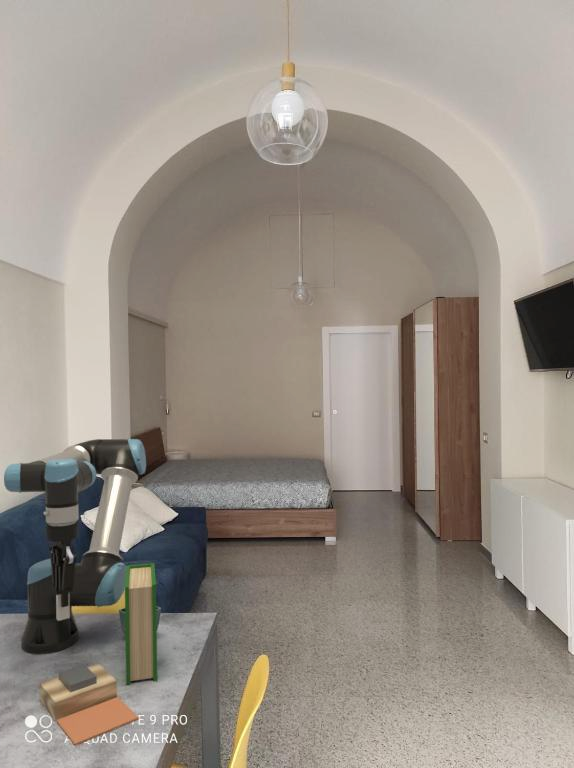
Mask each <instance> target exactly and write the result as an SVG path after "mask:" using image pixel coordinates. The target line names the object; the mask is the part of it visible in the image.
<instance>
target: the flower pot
mask: <svg viewBox="0 0 574 768" xmlns="http://www.w3.org/2000/svg"><path fill="white" fill-rule="evenodd" d="M161 610H162V607H160V606H157V605H156V625H157V630H158V629H159V625H160V621H161V620H160V619H161ZM118 616H119V623H120V628H121V631H122V633H123V635H124V636H125V637H126V632H125V607H122V608H120V609H119V610H118Z"/></svg>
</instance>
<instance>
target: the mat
mask: <svg viewBox="0 0 574 768" xmlns="http://www.w3.org/2000/svg"><path fill="white" fill-rule="evenodd" d="M139 719H140V718H139V716H138V715H137V714H136V713H135V712H134V711H133V710H132V709H131V708H130V707H129V706H128V705H127V704H126V703H125V702H124V701H122V700H121V698H120V697H119V696H117V697H116V698H114V699H111V700H108V701H106V702H103V703H100V704H98V705H95V706H92V707H90V708H87V709H85V710H82V711H79V712H77V713H74V714H71V715H69V716H66V717H63V718H61V719H58V720H57V721H56V723H57V724H58V726H59V727H60V729H61V730H62V731H63V732H64V734H65V735H66V736H67V738H68V739H69V740H70V741H71V743H72V744H73V746H78V745H80V744H82V743H85V742H88V741H90V740H92V739H94V738H97V737H99V736H102V735H104V734H107V733H108V731H109V732H111V731H114V730H115V728H116V729H118V727H119V728H121V727H124V726H126V725H128V724H131V723H133V722H135V721H137V720H139ZM123 725H124V726H123ZM113 729H114V730H113ZM106 732H107V733H106Z"/></svg>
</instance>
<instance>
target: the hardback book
mask: <svg viewBox="0 0 574 768" xmlns="http://www.w3.org/2000/svg"><path fill="white" fill-rule="evenodd" d="M155 569H156V568H155V563H154V562H153V563H142V564H141V563H139V564H129V565H128V564H127V565H126V579H125V588H124V608H125V632H126V636H125V686H131V682H133V681H140V680H147V679H148V680H149V679H153V683H155V682H154V681H156V682H158V640H157V638H158V636H157V635H158V634H157V633H158V629H157V625H156V606H157V582H156V570H155Z"/></svg>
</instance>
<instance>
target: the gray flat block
mask: <svg viewBox="0 0 574 768" xmlns="http://www.w3.org/2000/svg"><path fill="white" fill-rule="evenodd" d="M87 667H88V666H86V665H85V663H82V664H79V665H76V666H74V667H70V668H67V669H64V670H61V671H58V677H59V680H60V681H61V682H62V683H63V684H64V686H65V687H66V688H67V689H68V690H69V691H70V692H74V691H76V690H79V689H82V688H85V687H88V686H90V685H93V684H96V683H97V676H96V675H95V674H94V673H93V672H91V671H90V670H89V669H88V668H87Z"/></svg>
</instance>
